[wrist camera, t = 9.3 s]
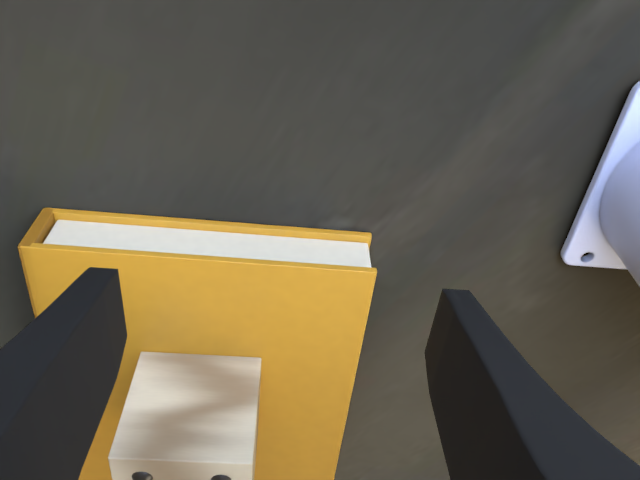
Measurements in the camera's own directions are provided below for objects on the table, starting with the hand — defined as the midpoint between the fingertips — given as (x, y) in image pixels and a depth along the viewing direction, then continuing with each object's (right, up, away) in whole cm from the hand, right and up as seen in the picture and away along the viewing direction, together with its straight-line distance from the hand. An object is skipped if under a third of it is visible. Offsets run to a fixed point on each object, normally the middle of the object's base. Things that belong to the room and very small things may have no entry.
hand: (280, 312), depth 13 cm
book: (-4, -4, +15) cm, 17 cm away
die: (-4, -5, +13) cm, 14 cm away
